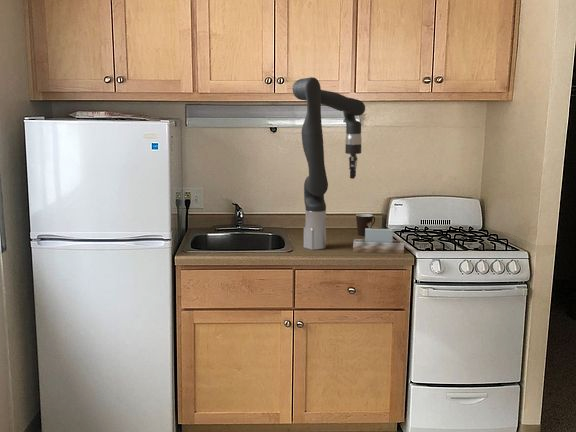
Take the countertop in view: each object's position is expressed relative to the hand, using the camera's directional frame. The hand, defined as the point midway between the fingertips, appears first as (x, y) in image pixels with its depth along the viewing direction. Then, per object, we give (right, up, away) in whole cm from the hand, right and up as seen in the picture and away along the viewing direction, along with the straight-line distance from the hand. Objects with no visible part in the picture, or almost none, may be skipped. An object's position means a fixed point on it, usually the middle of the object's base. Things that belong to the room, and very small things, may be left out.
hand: (352, 177), depth 275 cm
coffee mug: (+9, -28, +16) cm, 34 cm away
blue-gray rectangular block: (+9, -32, -19) cm, 39 cm away
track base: (+9, -34, -19) cm, 40 cm away
